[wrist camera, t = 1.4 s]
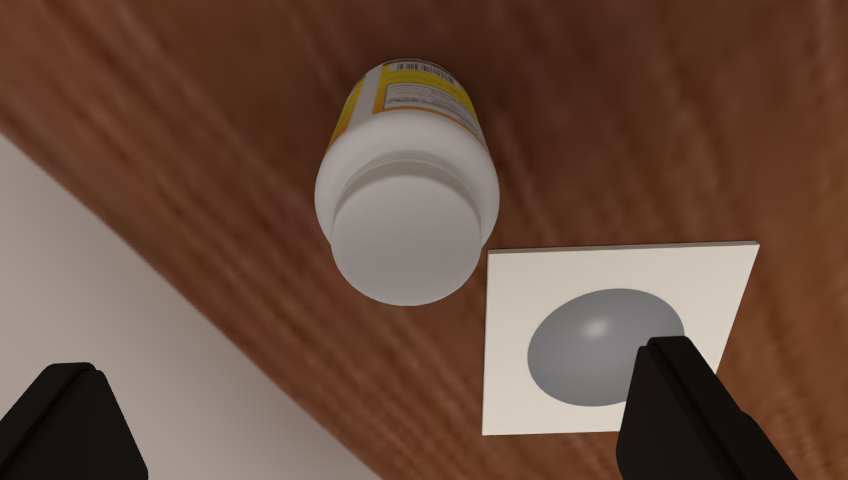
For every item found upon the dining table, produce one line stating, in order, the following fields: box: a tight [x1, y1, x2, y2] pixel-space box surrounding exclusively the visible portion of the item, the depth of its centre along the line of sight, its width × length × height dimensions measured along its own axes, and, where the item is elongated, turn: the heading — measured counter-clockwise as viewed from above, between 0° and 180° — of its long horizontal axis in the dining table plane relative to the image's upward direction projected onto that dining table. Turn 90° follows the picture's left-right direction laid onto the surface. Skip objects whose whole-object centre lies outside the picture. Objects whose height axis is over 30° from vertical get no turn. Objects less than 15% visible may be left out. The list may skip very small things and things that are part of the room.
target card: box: [482, 241, 760, 435], centre depth 29 cm, size 13×13×1 cm
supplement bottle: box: [315, 58, 500, 306], centre depth 18 cm, size 6×6×10 cm
